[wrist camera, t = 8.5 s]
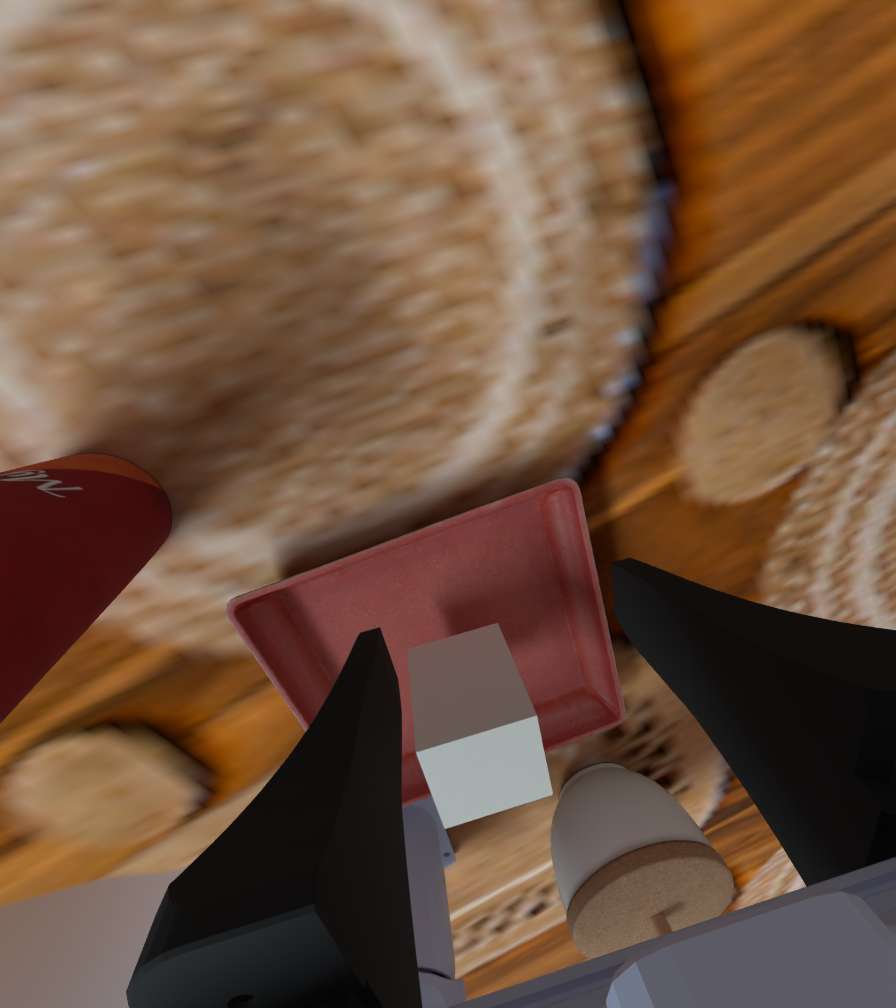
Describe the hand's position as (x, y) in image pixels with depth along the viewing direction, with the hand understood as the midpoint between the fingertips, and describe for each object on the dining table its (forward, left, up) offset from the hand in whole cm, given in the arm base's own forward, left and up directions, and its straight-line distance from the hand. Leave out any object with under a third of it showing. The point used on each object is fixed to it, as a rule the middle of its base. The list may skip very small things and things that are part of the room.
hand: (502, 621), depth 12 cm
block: (-9, +2, -8) cm, 12 cm away
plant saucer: (-9, +2, -11) cm, 15 cm away
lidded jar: (-27, -6, -11) cm, 30 cm away
